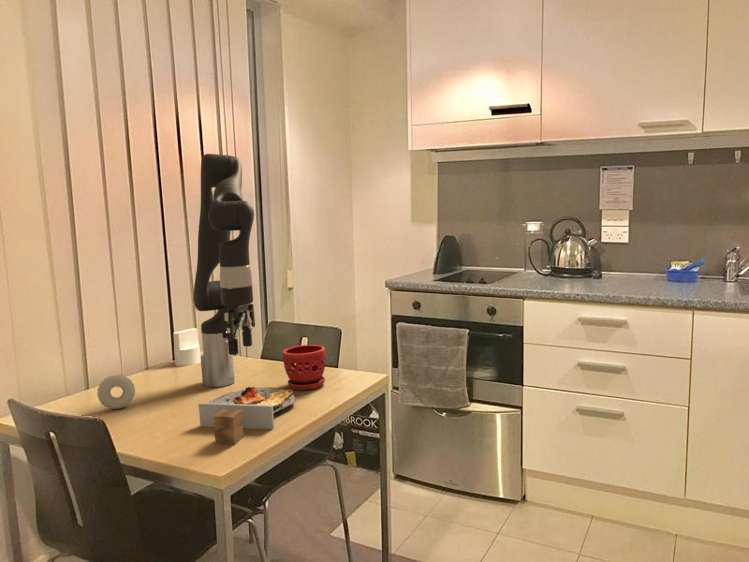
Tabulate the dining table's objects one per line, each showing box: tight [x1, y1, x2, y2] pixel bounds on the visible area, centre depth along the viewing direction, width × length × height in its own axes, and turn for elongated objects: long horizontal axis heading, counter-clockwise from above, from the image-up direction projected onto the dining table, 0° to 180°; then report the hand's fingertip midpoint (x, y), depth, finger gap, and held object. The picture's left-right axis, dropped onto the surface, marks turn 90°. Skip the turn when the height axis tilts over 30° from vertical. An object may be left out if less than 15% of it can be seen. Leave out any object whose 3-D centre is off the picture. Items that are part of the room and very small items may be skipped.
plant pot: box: [282, 344, 326, 391], centre depth 187 cm, size 13×13×12 cm
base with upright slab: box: [172, 327, 201, 367], centre depth 220 cm, size 9×9×12 cm
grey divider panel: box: [198, 402, 275, 430], centre depth 154 cm, size 20×1×6 cm, turn 78°
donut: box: [97, 374, 136, 410], centre depth 171 cm, size 10×4×10 cm, turn 110°
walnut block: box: [213, 409, 245, 446], centre depth 145 cm, size 5×5×7 cm
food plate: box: [207, 385, 297, 414], centre depth 169 cm, size 25×23×4 cm
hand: (240, 350), depth 146 cm, fingers open, 8 cm apart
